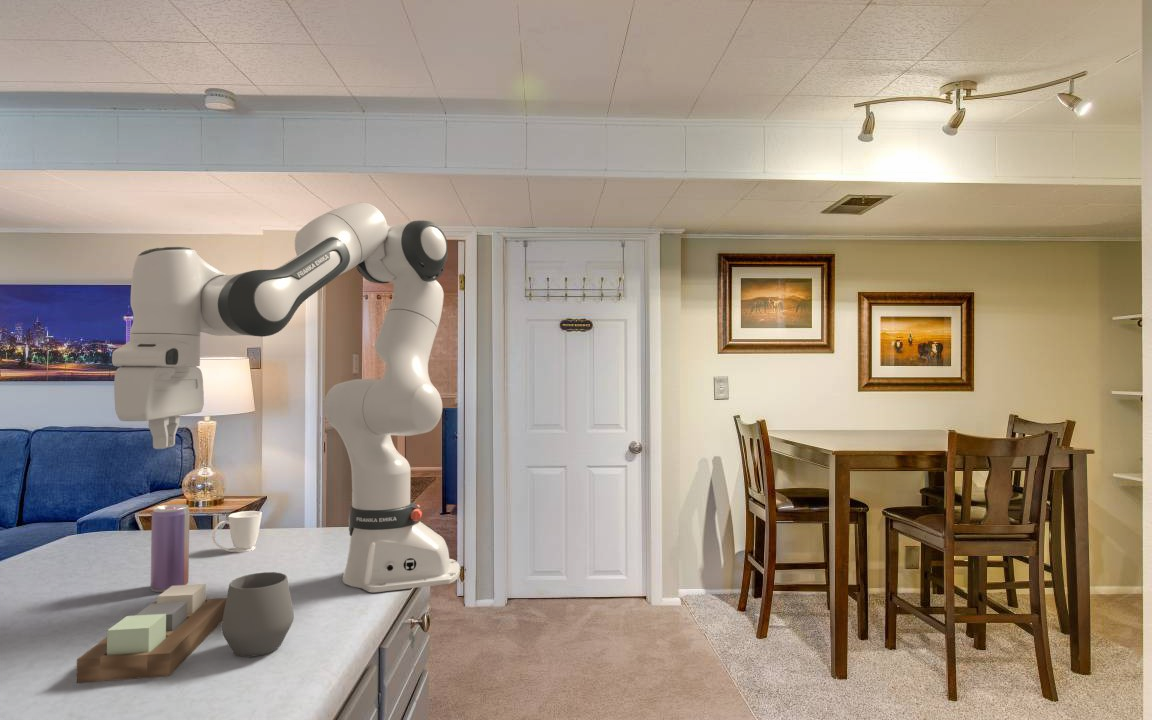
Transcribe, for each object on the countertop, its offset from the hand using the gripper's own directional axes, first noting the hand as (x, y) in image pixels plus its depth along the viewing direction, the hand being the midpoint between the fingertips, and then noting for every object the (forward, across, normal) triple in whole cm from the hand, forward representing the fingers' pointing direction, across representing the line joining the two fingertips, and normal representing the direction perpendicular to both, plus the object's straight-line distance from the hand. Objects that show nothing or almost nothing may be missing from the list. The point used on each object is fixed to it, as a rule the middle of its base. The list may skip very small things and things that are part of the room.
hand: (164, 447), depth 94 cm
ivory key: (+28, -7, 0) cm, 29 cm away
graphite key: (+28, 0, 0) cm, 28 cm away
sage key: (+27, +7, 0) cm, 28 cm away
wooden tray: (+29, 0, 0) cm, 29 cm away
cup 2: (+29, +4, +14) cm, 33 cm away
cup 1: (+29, -51, -6) cm, 59 cm away
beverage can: (+29, -27, -10) cm, 41 cm away
